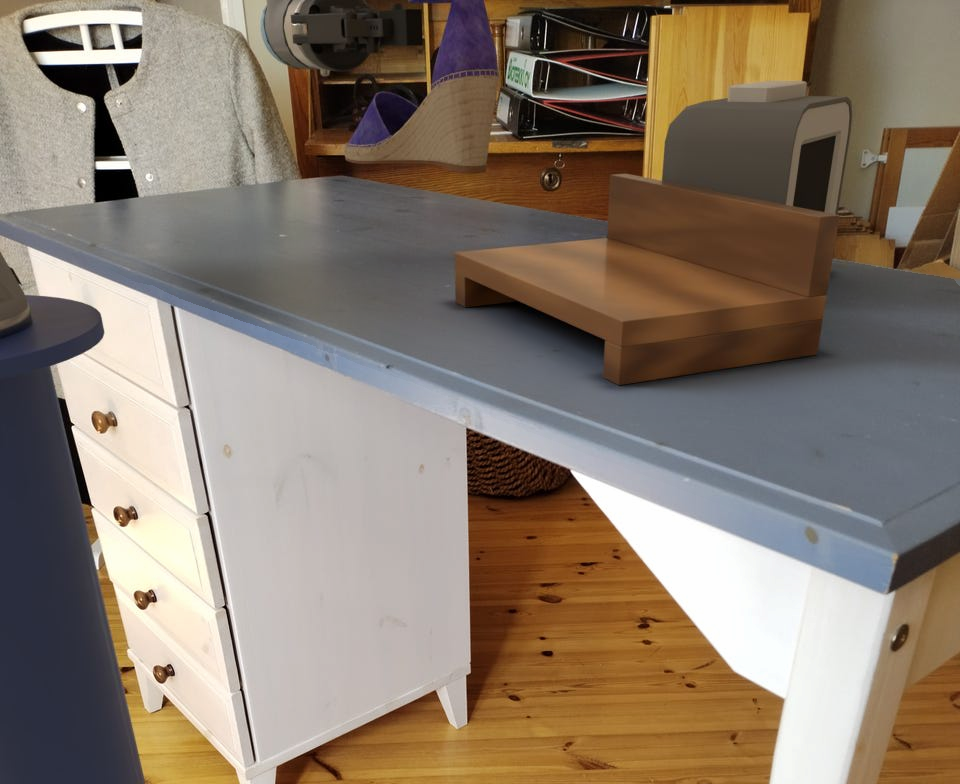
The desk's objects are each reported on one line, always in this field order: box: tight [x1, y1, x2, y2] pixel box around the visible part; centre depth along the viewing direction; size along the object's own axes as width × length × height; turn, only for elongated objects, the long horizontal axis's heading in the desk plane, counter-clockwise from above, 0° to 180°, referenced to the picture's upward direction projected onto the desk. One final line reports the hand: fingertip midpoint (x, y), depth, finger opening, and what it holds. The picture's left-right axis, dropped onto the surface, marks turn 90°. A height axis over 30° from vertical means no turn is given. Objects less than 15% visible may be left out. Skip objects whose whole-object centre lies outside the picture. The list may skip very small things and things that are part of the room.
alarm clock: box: [661, 80, 853, 215], centre depth 87 cm, size 16×11×16 cm
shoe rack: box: [454, 173, 841, 386], centre depth 75 cm, size 16×26×9 cm, turn 25°
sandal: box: [343, 0, 500, 175], centre depth 90 cm, size 8×20×15 cm, turn 32°
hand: (414, 27), depth 88 cm, fingers closed
